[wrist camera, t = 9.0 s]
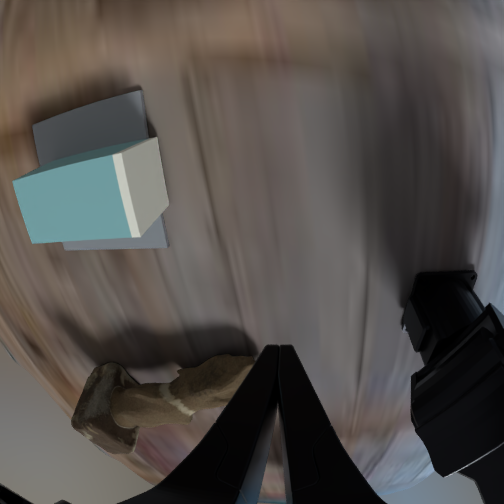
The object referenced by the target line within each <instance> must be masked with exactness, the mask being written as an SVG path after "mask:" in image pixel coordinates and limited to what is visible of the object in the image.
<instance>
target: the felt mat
mask: <svg viewBox="0 0 504 504" xmlns="http://www.w3.org/2000/svg"><path fill="white" fill-rule="evenodd" d="M32 127H33V133H34V139H35V144H36V149H37V154H38V159H39V163H40V167H41V166H43V165H45V164H47V163H50V162H52V161H54V160H58V159H61V158H65V157H68V156H72V155H76V154H80V153H84V152H88V151H92V150H96V149H100V148H104V147H109V146H113V145H118V144H123V143H128V142H133V141H138V140H143V139H149V134H148V127H147V120H146V113H145V105H144V97H143V90H139V91H134V92H130V93H127V94H123V95H119V96H115V97H112V98H108V99H105V100H101V101H98V102H95V103H92V104H88V105H85V106H82V107H79V108H76V109H73V110H71V111H68V112H65V113H62V114H60V115H57V116H54V117H52V118H49V119H47V120H44V121H42V122H39V123H37V124H34V125H32ZM62 243H63V246H64V249H65V250H97V249H140V248H168V247H169V241H168V237H167V232H166V228H165V223H164V218H163V213H162V214H161V215H160V216H159V217H158V218H157V219H156V220H155V221H154V222H153V224H152V225H151V226H150V227H149V228H148V229H147V230H146V232H145V233H144V234H143V235H142V236H141V237H133V238H114V239H96V240H80V241H64V242H62Z"/></svg>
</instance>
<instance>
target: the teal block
mask: <svg viewBox="0 0 504 504" xmlns="http://www.w3.org/2000/svg"><path fill="white" fill-rule="evenodd" d="M12 182H13V185H14V189H15V193H16V196H17V199H18V203H19V206H20V209H21V212H22V216H23V219H24V222H25V224H26V227H27V230H28V233H29V236H30V239H31V241H32V244H34V243H49V242H64V241H80V240H96V239H114V238H133V237H141V236H142V235H143V234H144V233H145V232H146V230H147V229H148V228H149V227H150V226H151V225H152V224H153V222H154V221H155V220H156V219H157V218H158V217H159V216H160V215H161V214H162V212H163V211H164V210H165V209H166V208H167V207H168V206H169V201H168V196H167V190H166V185H165V180H164V174H163V169H162V163H161V157H160V151H159V145H158V139H157V137H154V138H149V139H143V140H138V141H133V142H128V143H123V144H118V145H113V146H109V147H104V148H100V149H96V150H92V151H88V152H84V153H80V154H76V155H72V156H68V157H65V158H61V159H58V160H54V161H52V162H50V163H47V164H45V165H43V166H41V167H39V168H37V169H35V170H33V171H31V172H29V173H27V174H25V175H23V176H21V177H19V178H17V179H16V180H14V181H12Z"/></svg>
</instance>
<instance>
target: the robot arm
mask: <svg viewBox="0 0 504 504" xmlns="http://www.w3.org/2000/svg"><path fill="white" fill-rule="evenodd" d="M421 278H423V279H422V280H420V279H421ZM476 279H477V273H476V272H475V271H474V270H468V271H448V272H425V273H419V274H418V275H417V276H416V278H415V282H414V286H413V290H412V294H411V296H410V297H409V299H408V303H407V306H406V310H405V313H404V317H403V325H402V330H403V332H404V333H408V334H409V337H410V340H411V343H412V345H413V348H414V350H415V352H420V354H421V357H422V360H423V363H424V365H425V366H424V367H423V368H422V369H421V370H419V371H418V372H415V373H414V374H413V375H412V376H411V421H412V423H413V425H414V427H415V432H416V433H417V435H418V436H419V437H420V438H421V440H422V441H423V443H424V445H425V446H426V448H427V450H428V453H429V455H430V458H431V461H432V464H433V467H434V470H435V471H436V472H437V473H438V474H440V475H441V476H442V477H444V478H445V477H448V476H450V475H452V474H454V473H456V472H457V473H459V474H461V475H463V476H465V477H467V478H469V479H471V480H473V481H474V482H475V484H476V486H477V488H478V490H479V493H480V495H481V498H482V500H483V503H484V504H504V315H503V314H502V313H501V312H500V311H499V310H498V309H497V308H495V307H494V306H493V305H492V304H491V303H489V304H488V305H487V306H486V307H484V306H483V304H482V303H481V301H480V300H479V298H478V297H477V295H476V294H475V292H474V291H473V288H474V285H475V282H476ZM277 408H278V412H279V423H280V435H281V446H282V458H283V470H284V482H285V494H286V504H387V503H385V502H384V501H383V500H382V499H381V498H380V497H379V496H378V495H377V494H376V493H375V492H374V490H373V489H372V488H371V486H370V485H369V484H368V482H367V481H366V479H365V478H364V477H363V475H362V474H361V473H360V471H359V470H358V468H357V467H356V466H355V464H354V463H353V461H352V460H351V458H350V457H349V455H348V454H347V452H346V451H345V449H344V447H343V446H342V444H341V442H340V440H339V438H338V436H337V434H336V432H335V430H334V428H333V426H331V423H330V421H329V418H328V416H327V414H326V412H325V410H324V408H323V406H322V404H321V402H320V400H319V398H318V396H317V394H316V392H315V390H314V388H313V386H312V384H311V382H310V380H309V378H308V376H307V374H306V372H305V369H304V367H303V365H302V363H301V361H300V359H299V357H298V355H297V353H296V351H295V349H294V347H293V346H292V345H280V346H279V345H266V346H265V347H264V349H263V351H262V352H261V354H260V355H259V357H258V358H257V360H256V362H255V363H254V365H253V366H252V368H251V369H250V371H249V372H248V374H247V375H246V377H245V378H244V380H243V381H242V383H241V385H240V386H239V388H238V389H237V391H236V392H235V393H234V395H233V396H232V398H231V399H230V401H229V402H228V404H227V405H226V407H225V408H224V410H223V411H222V413H221V414H220V415H219V417H218V418H217V420H216V423H214V424H213V425H212V427H211V428H210V430H209V431H208V432H207V434H206V435H205V436H204V438H203V439H202V440H201V441H200V443H199V444H198V445H197V446H196V447H195V448H194V449H193V450H192V452H191V453H190V454H189V455H188V456H187V457H186V458H185V459H184V460H183V461H182V462H181V463H180V464H179V465H178V466H177V467H176V468H175V469H174V470H173V471H172V472H171V473H170V474H169V475H168V476H167V477H166V478H165V479H164V480H162V481H161V482H160V483H159V484H158V485H156V486H155V487H153V488H152V489H150V490H148V491H146V492H144V493H142V494H139V495H137V496H135V497H132V498H130V499H128V500H125V501H122V502H120V503H117V504H257V502H258V498H259V494H260V489H261V485H262V481H263V476H264V472H265V467H266V463H267V458H268V454H269V449H270V444H271V439H272V434H273V429H274V424H275V419H276V414H277ZM0 504H33V503H31V502H30V501H28V500H27V499H25V498H23V497H22V496H20V495H19V494H17V493H15V492H14V491H12V490H10V489H9V488H7V487H5V486H4V485H2V484H1V483H0ZM54 504H71V503H69V502H67V501H65V500H60V501H58V502H56V503H54Z"/></svg>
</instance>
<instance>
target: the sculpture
mask: <svg viewBox="0 0 504 504" xmlns="http://www.w3.org/2000/svg"><path fill="white" fill-rule="evenodd" d="M255 362H256V361H255V360H254V359H253V357H252V356H250V357H245V356H231V355H229V354H225V355H216V356H214V357H212V358H210V359H208V360H207V361H205V362H204V363H203V364H201V365H200V366H198V367H194V368H184V369H180V370H178V371H177V372H178V373H179V375H180V376H179V377H177V378H176V379H175V380H173V381H172V382H171V383H145V384H141V385H139V384H138V383H136V382H135V381H134V380H133V379H132V378H131V377H130V376H129V375H128V374H127V373H126V371H125V370H124V368H123V367H122V366H120V365H119V364H117V363H111V362H110V363H107V364H105V365H103V366H99V367H96V368H94V370H93V372H92V373H91V375H90V376H89V377H88V379H87V381H86V384H85V386H84V389H83V392H82V394H81V396H80V399H79V401H78V403H77V406H76V409H75V412H74V414H73V417H72V419H71V425H72V427H73V428H74V429H75V430H76V431H78V432H80V433H81V434H82V435H83V436H85V437H86V438H88V439H89V440H90V441H92V442H93V443H95V444H97V445H98V446H100V447H101V448H103V449H104V450H106V451H107V452H110V453H112V454H128V453H132V452H133V451H134V449H135V447H136V442H137V438H138V434H139V428H140V427H147V428H150V427H156V426H159V425H163V424H183V425H187V424H189V423H190V422H191V420H192V414H193V413H195V412H196V411H198V410H201V409H210V408H216V407H220V406H226V405H227V404H228V402H229V401H230V399H231V398H232V396H233V395H234V393H235V392H236V391H237V389H238V388H239V386H240V385H241V383H242V381H243V380H244V378H245V377H246V375H247V374H248V372H249V371H250V369H251V368H252V366H253V365H254V363H255Z"/></svg>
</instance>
